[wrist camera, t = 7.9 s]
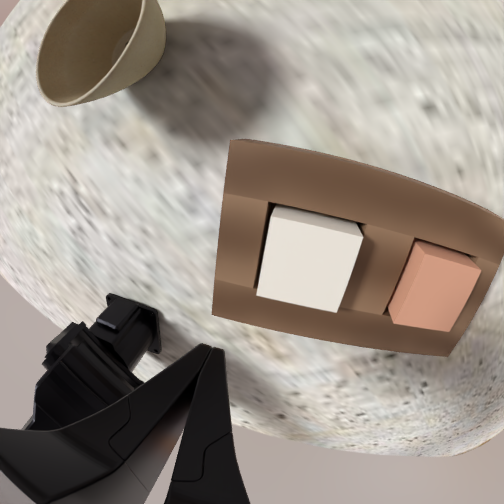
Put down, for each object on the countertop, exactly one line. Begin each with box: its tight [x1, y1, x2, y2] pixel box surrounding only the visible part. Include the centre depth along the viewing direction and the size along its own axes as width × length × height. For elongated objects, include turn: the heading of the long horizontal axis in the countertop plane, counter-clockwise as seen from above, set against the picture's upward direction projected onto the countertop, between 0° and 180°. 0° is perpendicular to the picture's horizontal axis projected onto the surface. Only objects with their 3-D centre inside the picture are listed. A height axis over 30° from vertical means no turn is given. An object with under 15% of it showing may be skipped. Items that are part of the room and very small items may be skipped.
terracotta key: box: [387, 237, 481, 332], centre depth 15 cm, size 5×5×3 cm
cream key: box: [256, 203, 363, 313], centre depth 16 cm, size 5×5×3 cm
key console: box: [212, 139, 504, 357], centre depth 17 cm, size 12×20×4 cm, turn 81°
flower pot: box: [36, 0, 166, 107], centre depth 12 cm, size 10×10×7 cm
